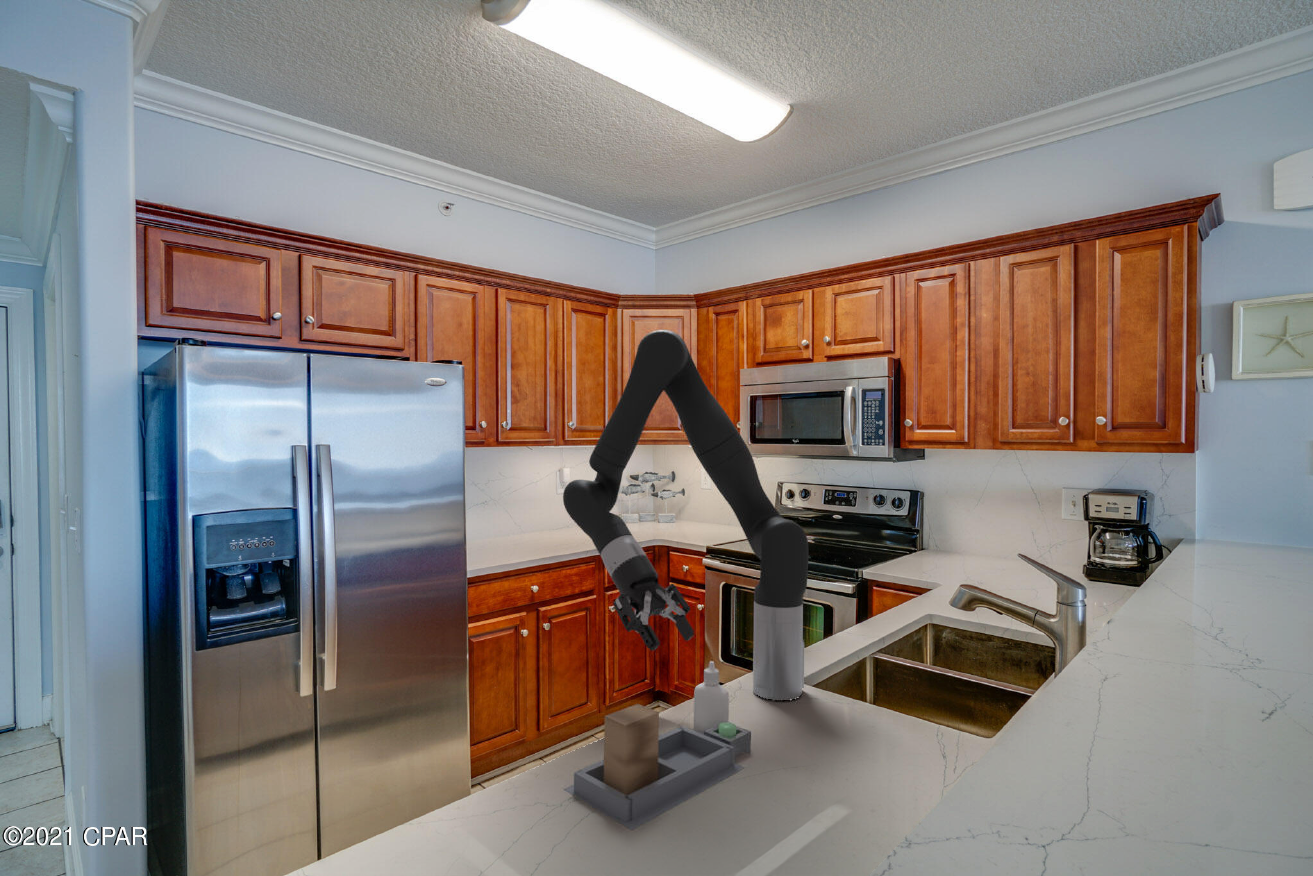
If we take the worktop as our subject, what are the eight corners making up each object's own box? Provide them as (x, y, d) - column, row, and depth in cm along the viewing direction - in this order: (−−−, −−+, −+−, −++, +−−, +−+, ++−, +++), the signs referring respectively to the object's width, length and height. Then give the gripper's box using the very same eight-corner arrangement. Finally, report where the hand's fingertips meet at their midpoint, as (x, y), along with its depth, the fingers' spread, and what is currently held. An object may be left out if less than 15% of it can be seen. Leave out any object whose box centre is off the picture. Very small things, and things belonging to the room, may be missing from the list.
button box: (724, 747, 103) (724, 721, 103) (750, 758, 100) (750, 731, 100) (703, 757, 100) (704, 731, 100) (730, 769, 96) (730, 741, 96)
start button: (725, 739, 102) (726, 720, 102) (739, 744, 100) (739, 726, 100) (715, 744, 100) (715, 725, 100) (728, 750, 98) (729, 731, 98)
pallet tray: (676, 748, 103) (677, 722, 103) (744, 778, 94) (745, 749, 94) (563, 800, 87) (563, 769, 87) (631, 842, 78) (632, 808, 78)
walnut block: (636, 777, 91) (637, 703, 91) (657, 788, 88) (658, 712, 88) (603, 793, 86) (604, 716, 86) (624, 805, 83) (625, 725, 84)
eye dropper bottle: (713, 727, 111) (714, 655, 111) (731, 741, 106) (732, 665, 106) (690, 732, 109) (691, 658, 109) (708, 746, 104) (709, 669, 104)
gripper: (609, 557, 115) (655, 638, 106) (666, 549, 125) (712, 623, 117) (589, 583, 118) (632, 664, 110) (646, 574, 129) (689, 646, 120)
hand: (673, 642), depth 113 cm, fingers open, 8 cm apart
